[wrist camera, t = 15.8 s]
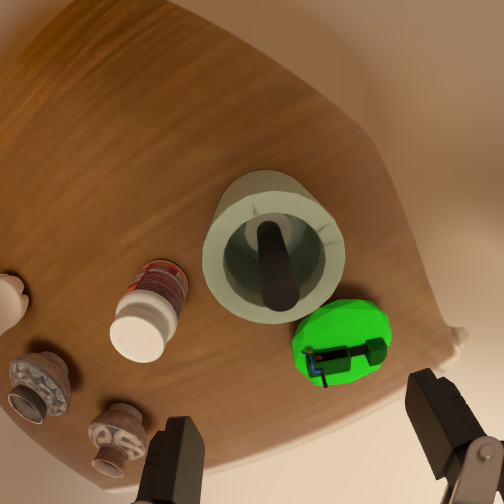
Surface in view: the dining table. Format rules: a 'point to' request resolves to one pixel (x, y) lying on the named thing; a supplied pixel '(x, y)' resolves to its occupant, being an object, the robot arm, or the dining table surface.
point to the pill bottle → (149, 311)
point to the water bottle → (11, 301)
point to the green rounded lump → (341, 342)
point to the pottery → (58, 402)
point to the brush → (274, 259)
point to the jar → (247, 259)
